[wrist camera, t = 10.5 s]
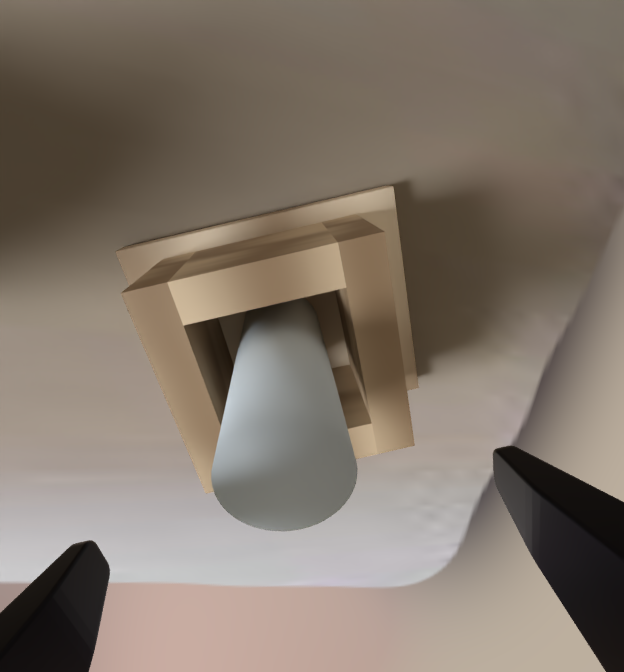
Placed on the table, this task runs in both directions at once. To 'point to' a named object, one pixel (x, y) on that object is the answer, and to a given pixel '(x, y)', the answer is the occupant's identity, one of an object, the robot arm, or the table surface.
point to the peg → (283, 425)
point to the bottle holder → (272, 288)
